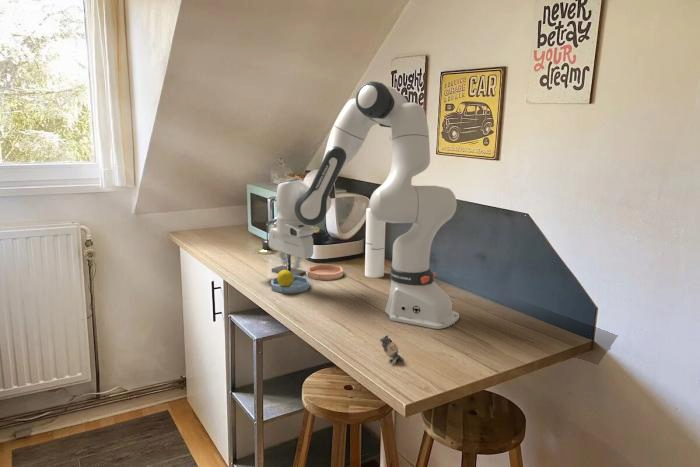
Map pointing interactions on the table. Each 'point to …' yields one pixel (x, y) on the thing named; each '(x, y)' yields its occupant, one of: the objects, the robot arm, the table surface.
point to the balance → (266, 251)
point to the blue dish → (298, 285)
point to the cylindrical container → (374, 246)
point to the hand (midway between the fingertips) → (290, 266)
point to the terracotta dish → (325, 272)
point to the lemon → (285, 278)
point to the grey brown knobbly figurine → (390, 349)
